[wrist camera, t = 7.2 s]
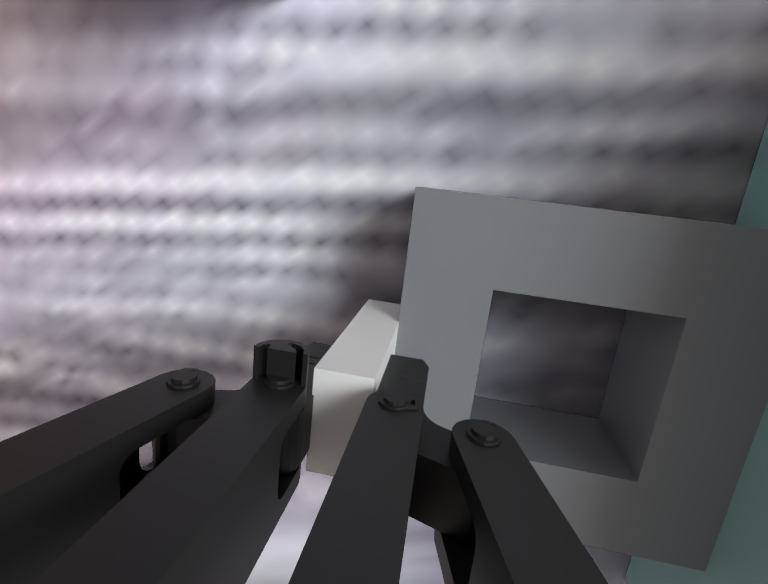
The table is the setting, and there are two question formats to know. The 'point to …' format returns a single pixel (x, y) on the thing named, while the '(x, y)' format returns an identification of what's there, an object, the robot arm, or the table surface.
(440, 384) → the block
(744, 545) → the wall
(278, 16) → the table surface
